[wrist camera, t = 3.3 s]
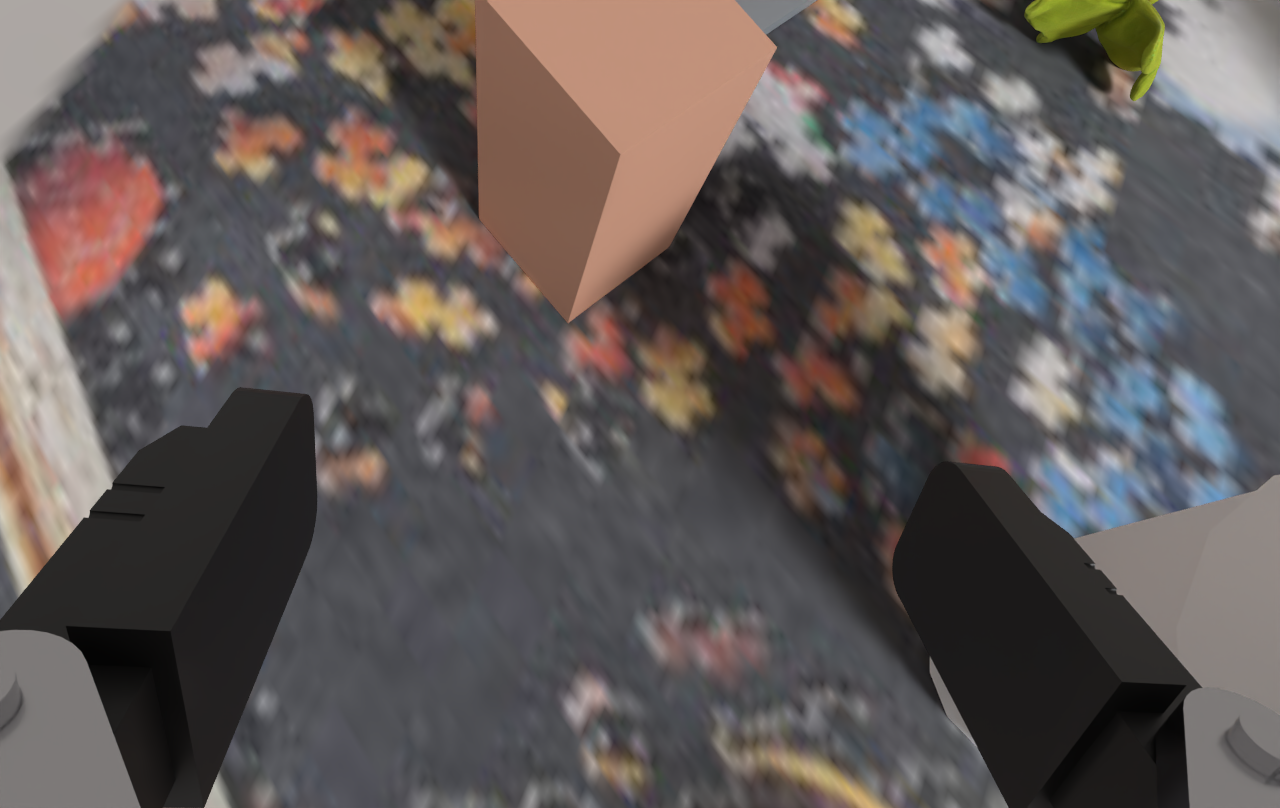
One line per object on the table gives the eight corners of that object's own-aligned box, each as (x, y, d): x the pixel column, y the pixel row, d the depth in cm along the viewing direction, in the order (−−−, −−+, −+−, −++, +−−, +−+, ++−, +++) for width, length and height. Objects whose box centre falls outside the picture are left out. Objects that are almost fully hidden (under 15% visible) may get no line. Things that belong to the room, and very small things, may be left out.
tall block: (583, 148, 26) (641, -106, 16) (669, 247, 26) (776, 47, 16) (478, 219, 25) (474, -14, 15) (567, 323, 24) (620, 155, 15)
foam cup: (1184, 747, 25) (1866, 905, 13) (958, 869, 23) (1523, 1211, 10) (1066, 477, 27) (1571, 382, 14) (841, 565, 24) (1213, 545, 12)
